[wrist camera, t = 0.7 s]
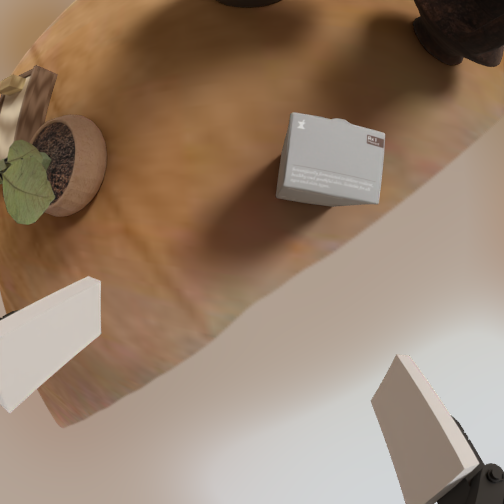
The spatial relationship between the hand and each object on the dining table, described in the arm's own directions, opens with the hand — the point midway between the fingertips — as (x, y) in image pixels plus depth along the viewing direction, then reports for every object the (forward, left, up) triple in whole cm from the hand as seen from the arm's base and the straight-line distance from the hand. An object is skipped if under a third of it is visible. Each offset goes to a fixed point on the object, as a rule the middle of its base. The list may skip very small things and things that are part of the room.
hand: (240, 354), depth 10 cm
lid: (-18, -53, -22) cm, 59 cm away
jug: (-41, +25, -27) cm, 55 cm away
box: (-18, -53, -27) cm, 62 cm away
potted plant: (-7, -32, -27) cm, 42 cm away
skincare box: (-10, +4, -27) cm, 29 cm away
